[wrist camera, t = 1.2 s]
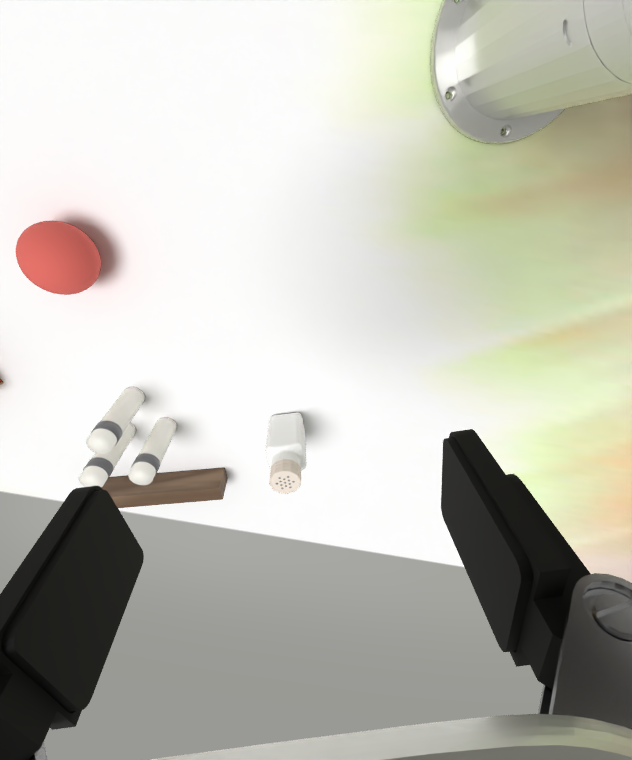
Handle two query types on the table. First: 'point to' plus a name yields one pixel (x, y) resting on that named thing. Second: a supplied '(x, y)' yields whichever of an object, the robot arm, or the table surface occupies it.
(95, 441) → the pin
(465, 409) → the table surface
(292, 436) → the salt shaker
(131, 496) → the rail
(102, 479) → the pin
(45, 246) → the ball
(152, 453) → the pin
